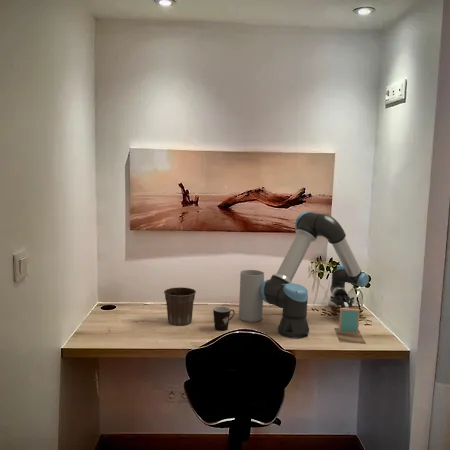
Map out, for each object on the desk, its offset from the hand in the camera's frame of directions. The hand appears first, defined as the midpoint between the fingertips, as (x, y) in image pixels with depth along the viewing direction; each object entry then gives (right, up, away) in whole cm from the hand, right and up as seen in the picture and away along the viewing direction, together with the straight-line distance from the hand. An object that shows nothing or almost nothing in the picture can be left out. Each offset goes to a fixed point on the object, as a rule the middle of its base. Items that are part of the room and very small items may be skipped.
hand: (347, 308), depth 229 cm
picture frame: (-1, -10, -7) cm, 13 cm away
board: (-2, -12, -10) cm, 16 cm away
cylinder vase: (-48, -8, +13) cm, 50 cm away
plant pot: (-85, -8, +4) cm, 86 cm away
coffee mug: (-62, -9, -4) cm, 63 cm away
